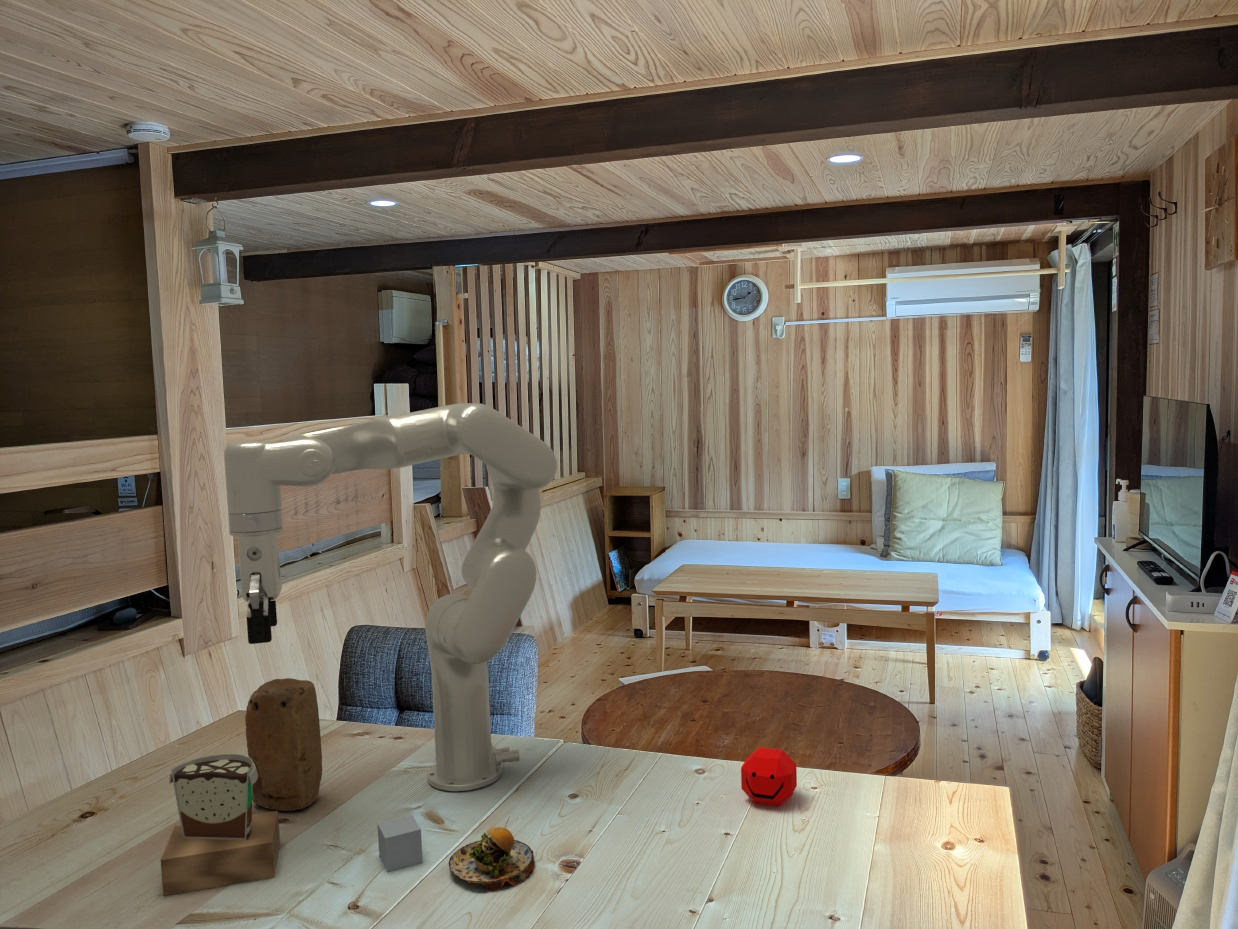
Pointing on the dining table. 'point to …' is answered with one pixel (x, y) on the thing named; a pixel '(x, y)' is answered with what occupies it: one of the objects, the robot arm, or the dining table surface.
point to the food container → (215, 796)
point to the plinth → (221, 858)
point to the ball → (769, 776)
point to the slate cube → (399, 843)
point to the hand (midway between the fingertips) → (263, 634)
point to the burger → (493, 860)
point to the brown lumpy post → (285, 744)
